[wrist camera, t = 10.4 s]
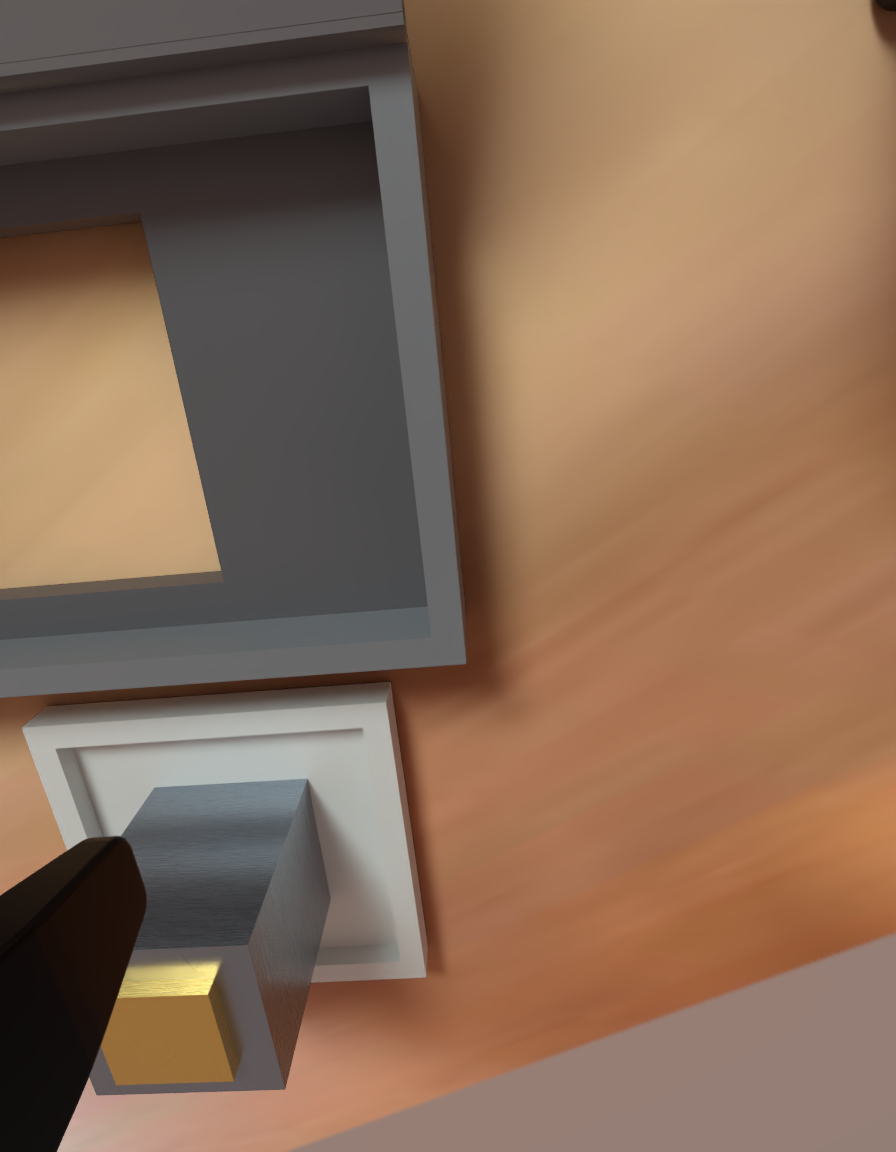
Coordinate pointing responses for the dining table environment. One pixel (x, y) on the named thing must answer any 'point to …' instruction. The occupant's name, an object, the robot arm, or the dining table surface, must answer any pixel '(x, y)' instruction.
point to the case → (252, 329)
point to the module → (218, 940)
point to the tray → (250, 754)
